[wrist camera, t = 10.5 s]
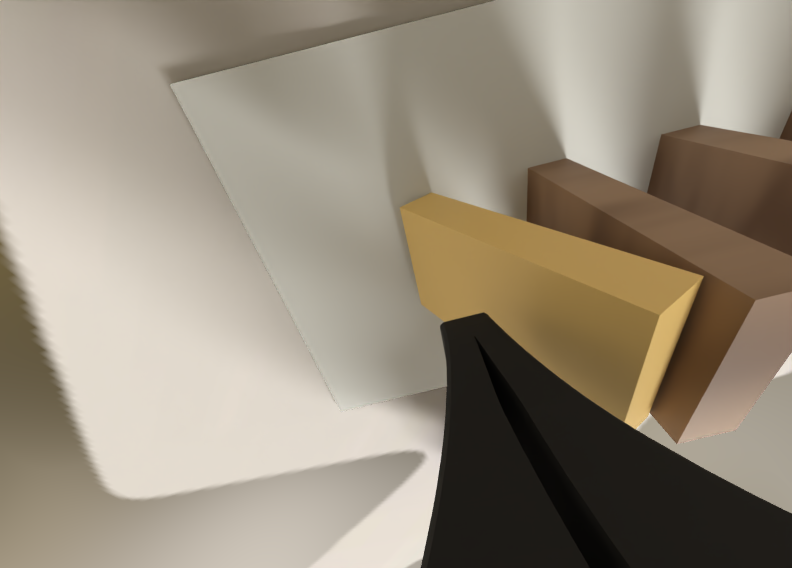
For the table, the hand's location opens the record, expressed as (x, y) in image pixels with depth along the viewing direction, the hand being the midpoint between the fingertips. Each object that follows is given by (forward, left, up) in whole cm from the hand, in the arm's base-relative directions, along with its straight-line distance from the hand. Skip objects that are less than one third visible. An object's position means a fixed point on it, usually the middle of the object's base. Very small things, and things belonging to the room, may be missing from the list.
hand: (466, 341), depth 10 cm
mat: (-1, -9, -6) cm, 11 cm away
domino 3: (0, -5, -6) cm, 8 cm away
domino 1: (0, 0, -6) cm, 6 cm away
